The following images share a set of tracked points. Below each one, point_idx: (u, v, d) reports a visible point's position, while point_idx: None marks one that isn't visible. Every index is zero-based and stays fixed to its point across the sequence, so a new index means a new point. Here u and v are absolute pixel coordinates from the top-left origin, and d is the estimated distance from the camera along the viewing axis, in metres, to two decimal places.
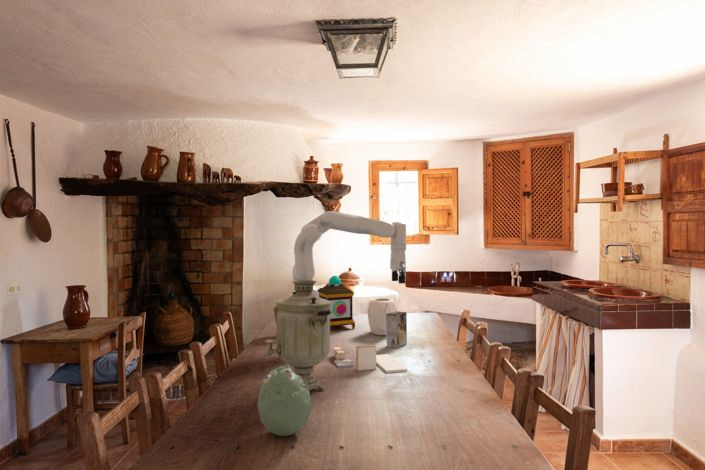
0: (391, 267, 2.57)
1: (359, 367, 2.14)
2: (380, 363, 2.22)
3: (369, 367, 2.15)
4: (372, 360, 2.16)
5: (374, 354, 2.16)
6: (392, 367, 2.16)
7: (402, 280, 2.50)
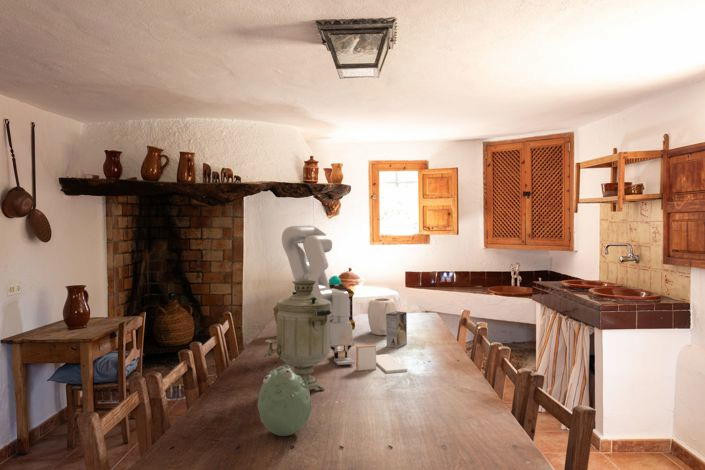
0: (337, 343, 2.27)
1: (359, 367, 2.14)
2: (380, 363, 2.22)
3: (369, 367, 2.15)
4: (372, 360, 2.16)
5: (374, 354, 2.16)
6: (392, 367, 2.16)
7: None
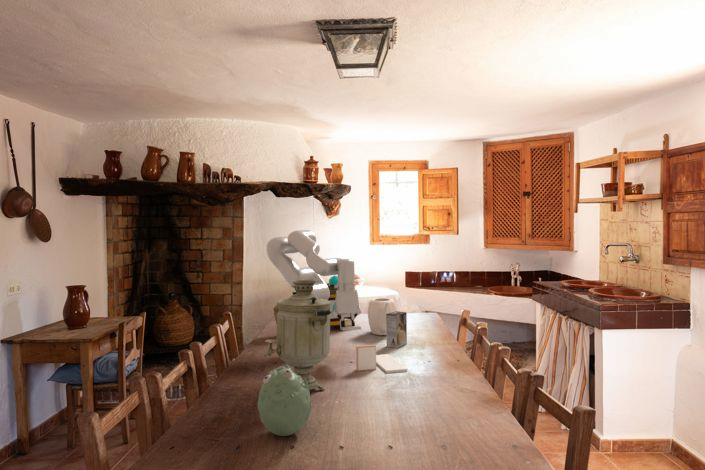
0: (343, 311, 2.26)
1: (359, 367, 2.14)
2: (380, 363, 2.22)
3: (369, 367, 2.15)
4: (372, 360, 2.16)
5: (374, 354, 2.16)
6: (392, 367, 2.16)
7: None
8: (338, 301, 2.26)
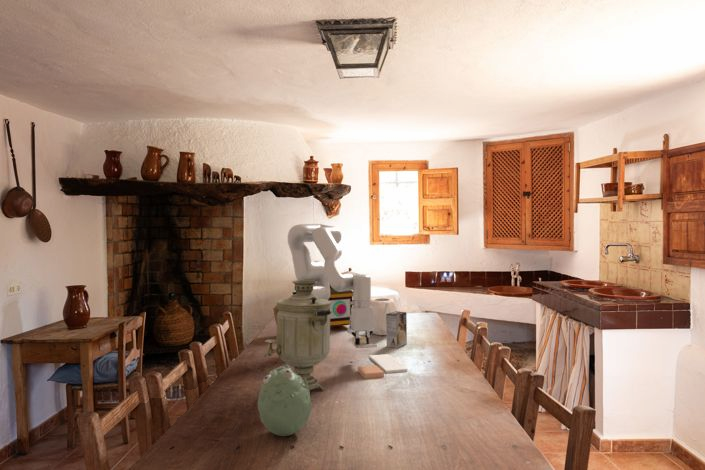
0: (358, 328, 2.19)
1: None
2: (380, 363, 2.22)
3: None
4: None
5: None
6: (392, 367, 2.16)
7: None
8: (353, 318, 2.18)
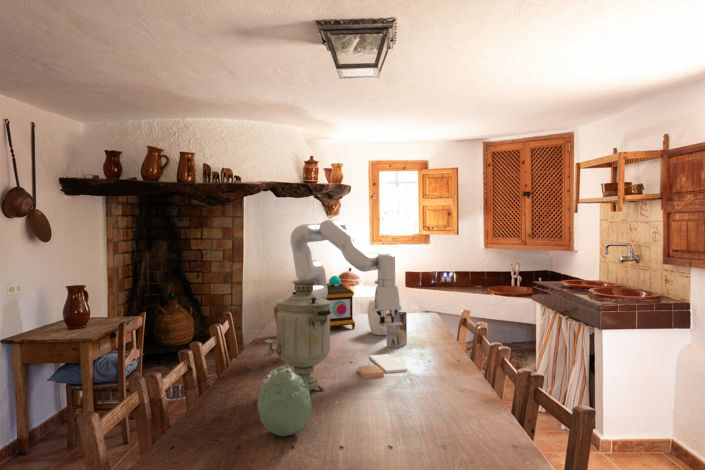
0: (383, 307, 2.21)
1: None
2: (380, 363, 2.22)
3: None
4: None
5: None
6: (392, 367, 2.16)
7: None
8: (379, 297, 2.21)
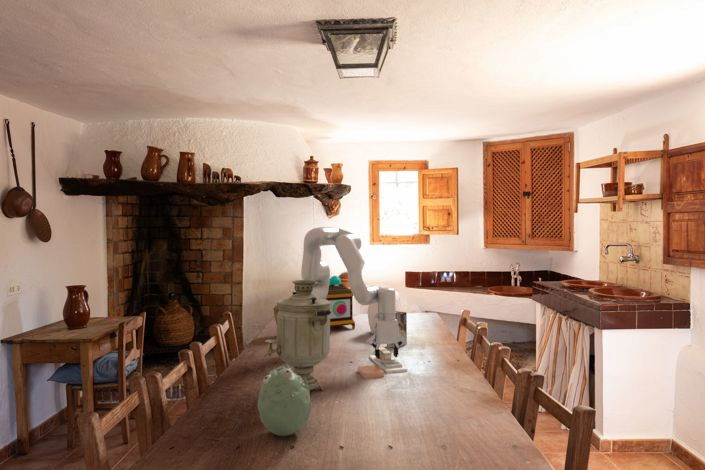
0: (383, 341, 2.22)
1: None
2: (380, 363, 2.22)
3: None
4: None
5: None
6: None
7: None
8: (378, 331, 2.21)
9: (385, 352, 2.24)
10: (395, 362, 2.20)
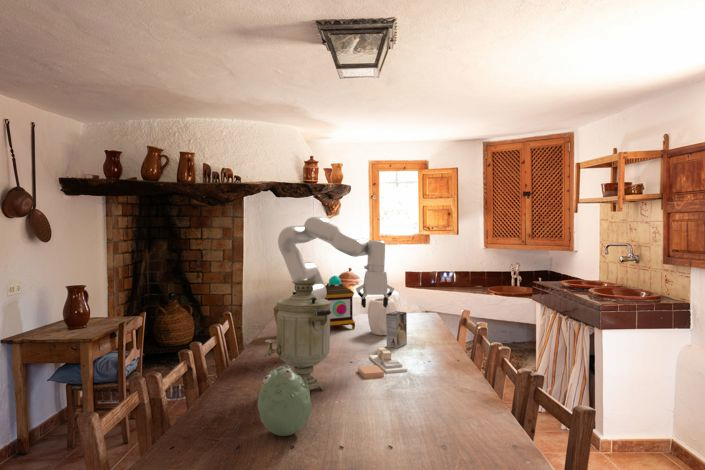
0: (371, 292, 2.26)
1: None
2: (380, 363, 2.22)
3: None
4: None
5: None
6: None
7: None
8: (367, 282, 2.26)
9: (385, 352, 2.24)
10: (395, 362, 2.20)
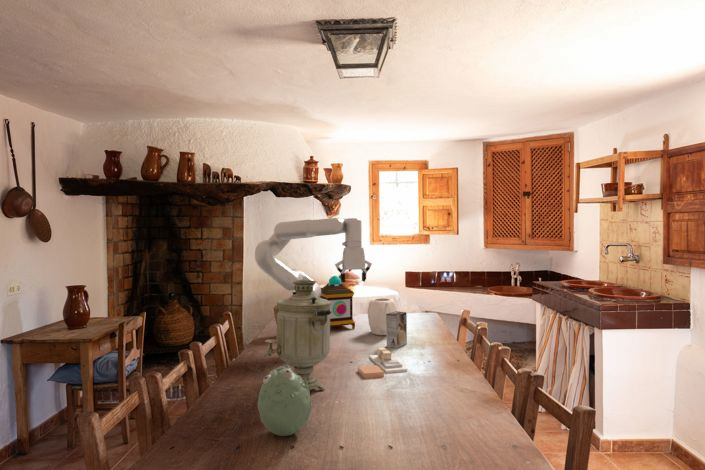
0: (350, 267, 2.38)
1: None
2: (380, 363, 2.22)
3: None
4: None
5: None
6: None
7: None
8: (345, 257, 2.38)
9: (385, 352, 2.24)
10: (395, 362, 2.20)
